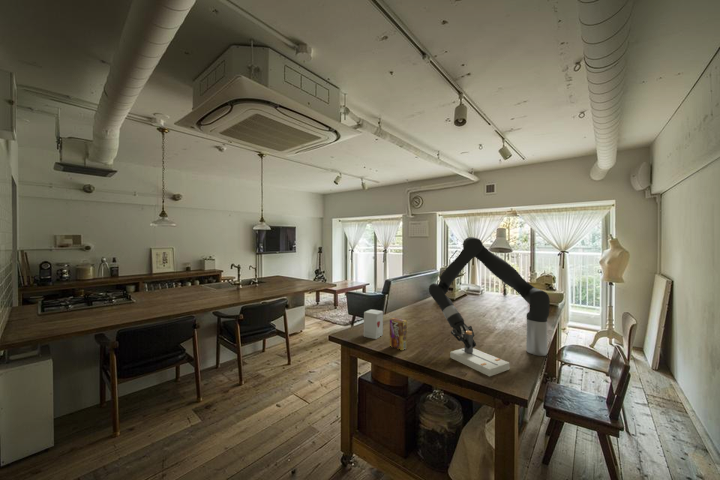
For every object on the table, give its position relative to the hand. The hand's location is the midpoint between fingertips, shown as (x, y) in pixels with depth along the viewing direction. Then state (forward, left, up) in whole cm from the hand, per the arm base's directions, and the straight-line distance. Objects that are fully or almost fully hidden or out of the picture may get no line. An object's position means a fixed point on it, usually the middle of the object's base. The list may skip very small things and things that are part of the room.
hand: (472, 347), depth 137 cm
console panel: (0, +4, -6) cm, 8 cm away
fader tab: (0, -2, -3) cm, 4 cm away
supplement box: (+24, -52, -7) cm, 58 cm away
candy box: (+22, -30, -7) cm, 38 cm away
